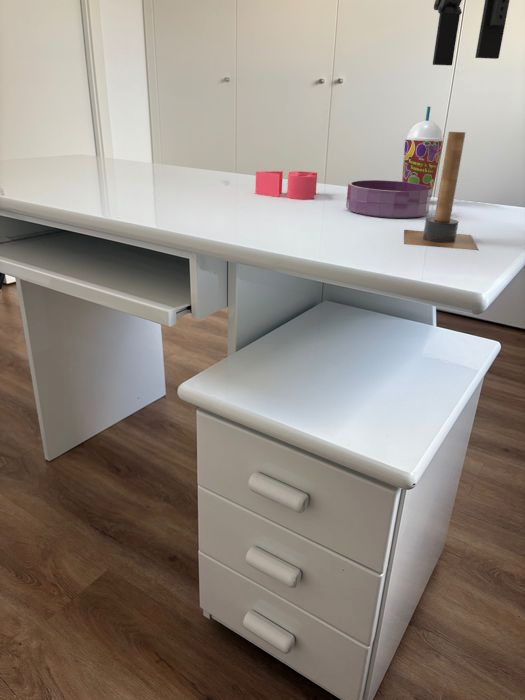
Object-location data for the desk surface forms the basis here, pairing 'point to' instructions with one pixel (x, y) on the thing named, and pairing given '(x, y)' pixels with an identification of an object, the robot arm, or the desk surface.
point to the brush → (446, 194)
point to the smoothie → (422, 152)
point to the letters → (298, 184)
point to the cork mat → (459, 243)
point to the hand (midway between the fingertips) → (462, 62)
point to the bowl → (388, 198)
